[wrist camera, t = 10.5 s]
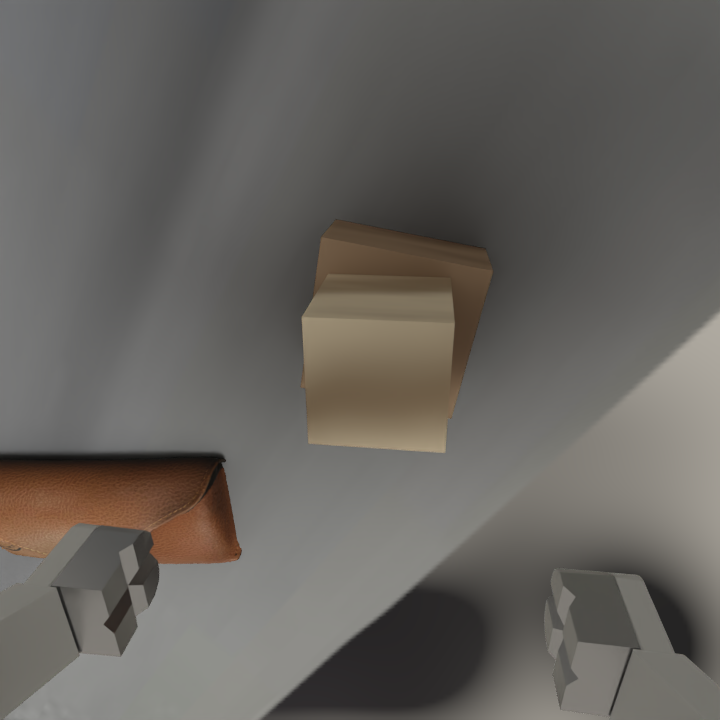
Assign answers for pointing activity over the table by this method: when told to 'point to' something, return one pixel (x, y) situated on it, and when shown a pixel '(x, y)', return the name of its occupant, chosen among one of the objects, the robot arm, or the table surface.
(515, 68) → the table surface
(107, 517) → the sunglasses case
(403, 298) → the beech block
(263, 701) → the table surface
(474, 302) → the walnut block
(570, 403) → the table surface
